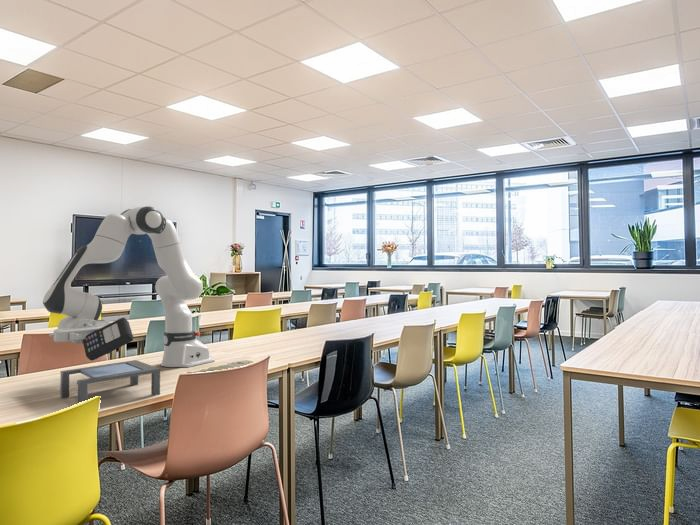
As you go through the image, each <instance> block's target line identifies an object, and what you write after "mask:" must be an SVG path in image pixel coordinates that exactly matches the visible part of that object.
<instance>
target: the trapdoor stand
mask: <svg viewBox="0 0 700 525" xmlns="http://www.w3.org/2000/svg"><path fill="white" fill-rule="evenodd" d="M118 364H128V365H130V366H133V367H135V368H138V369H140V370H138V371H132V372H126V373H119V374H113V375H107V376H101V377H95V378H89V377H88V378H84V379H83V378H82V379H78V380H77V381H76V384H77V404H78V403H79V402H82V401H85V400H87V401H88V385H89V384H90V385H91V384H94V383H95V384H96V383H101V382H102V383H103V382H108V381H113V380H118V379H125V378H129V384H130V385H131V386H137V385H139V376H143V375H147V374H151V379H150V380H151V390H150V391H151V393H150V395H152V396H156V395H160V394H161V368H159V367H157V366H154V365H151V364H148V363H145V362H143V361H140V360H137V359H136V360H134V359H133V360H127V361H121V362H113V363H108V364H100V365H99V364H98V365H93V366H87V367H80V368H79V367H78V368H72V369H66V370H60V387H59V388H60V391H59V392H60V395H59V396H60V398H61V399H66V398H70V376H71V375H75V374H81V370H84V369H91V368H98V367H104V366H111V365H118Z"/></svg>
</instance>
